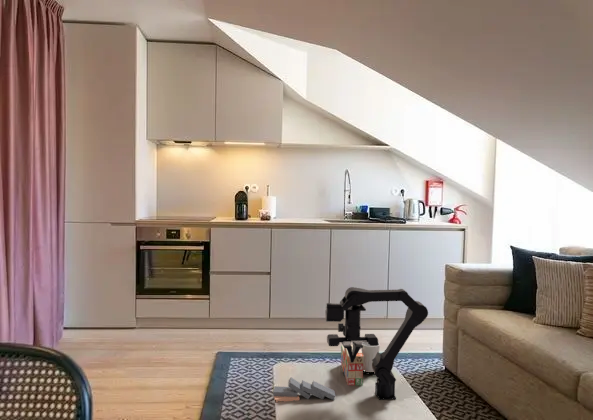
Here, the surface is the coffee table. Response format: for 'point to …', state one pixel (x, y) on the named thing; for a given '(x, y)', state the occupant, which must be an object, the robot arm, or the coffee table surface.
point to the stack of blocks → (352, 367)
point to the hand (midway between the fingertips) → (351, 362)
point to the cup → (369, 355)
